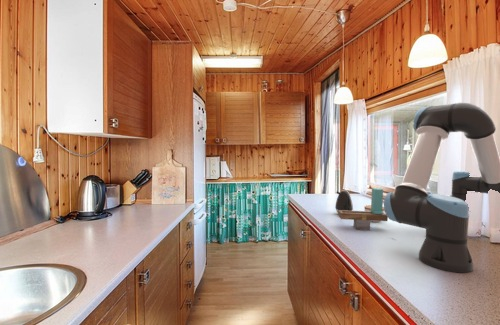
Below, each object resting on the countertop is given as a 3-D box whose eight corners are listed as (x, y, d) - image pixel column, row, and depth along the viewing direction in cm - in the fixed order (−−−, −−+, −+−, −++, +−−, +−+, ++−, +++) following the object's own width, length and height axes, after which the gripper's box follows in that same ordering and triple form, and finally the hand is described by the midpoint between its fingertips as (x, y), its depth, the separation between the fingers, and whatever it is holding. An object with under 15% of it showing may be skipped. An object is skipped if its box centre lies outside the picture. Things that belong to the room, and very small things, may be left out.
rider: (383, 220, 129) (384, 189, 128) (374, 219, 129) (375, 189, 129) (378, 216, 135) (379, 188, 135) (370, 216, 136) (371, 187, 135)
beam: (387, 231, 129) (387, 215, 128) (340, 229, 131) (341, 213, 131) (381, 227, 136) (382, 211, 135) (337, 225, 138) (338, 210, 138)
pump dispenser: (331, 212, 166) (332, 189, 166) (346, 212, 168) (347, 188, 168) (340, 216, 156) (341, 191, 156) (356, 216, 158) (356, 191, 158)
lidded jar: (380, 218, 154) (380, 202, 153) (388, 223, 143) (388, 206, 143) (361, 217, 155) (361, 202, 154) (367, 222, 144) (368, 205, 144)
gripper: (447, 213, 123) (393, 210, 125) (431, 207, 136) (383, 205, 138) (447, 197, 122) (394, 195, 125) (431, 192, 135) (383, 191, 138)
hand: (388, 200), depth 132 cm, fingers closed
